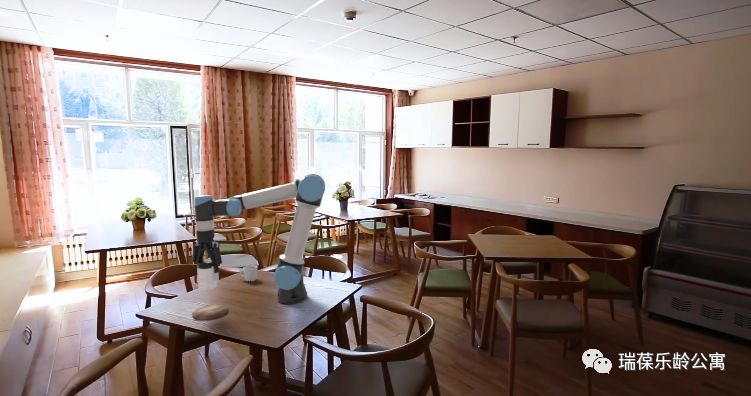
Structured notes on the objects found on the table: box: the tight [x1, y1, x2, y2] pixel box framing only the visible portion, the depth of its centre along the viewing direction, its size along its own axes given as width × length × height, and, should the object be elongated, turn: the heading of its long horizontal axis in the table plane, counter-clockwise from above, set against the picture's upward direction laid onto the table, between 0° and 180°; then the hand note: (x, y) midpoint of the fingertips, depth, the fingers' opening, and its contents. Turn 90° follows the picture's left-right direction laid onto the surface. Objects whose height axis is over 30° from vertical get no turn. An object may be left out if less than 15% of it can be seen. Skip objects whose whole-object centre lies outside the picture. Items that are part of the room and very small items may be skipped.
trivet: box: [192, 304, 229, 321], centre depth 179 cm, size 15×15×1 cm
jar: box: [196, 258, 220, 291], centre depth 177 cm, size 9×8×12 cm
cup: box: [239, 264, 258, 282], centre depth 227 cm, size 11×8×8 cm
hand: (208, 278), depth 177 cm, fingers closed on jar, 8 cm apart
